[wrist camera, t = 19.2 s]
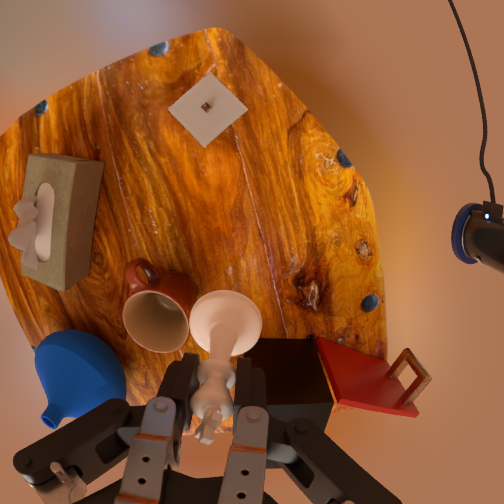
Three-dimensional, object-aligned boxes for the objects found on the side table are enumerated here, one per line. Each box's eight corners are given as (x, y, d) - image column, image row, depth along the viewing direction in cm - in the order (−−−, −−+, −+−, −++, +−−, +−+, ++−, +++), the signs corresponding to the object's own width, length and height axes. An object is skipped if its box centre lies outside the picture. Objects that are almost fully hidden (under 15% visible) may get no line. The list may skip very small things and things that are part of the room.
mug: (213, 304, 42) (203, 341, 32) (165, 323, 43) (146, 360, 33) (176, 233, 39) (152, 252, 29) (128, 257, 40) (96, 281, 30)
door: (337, 307, 42) (370, 363, 28) (404, 336, 44) (444, 385, 30) (315, 341, 44) (337, 403, 30) (383, 365, 46) (415, 417, 31)
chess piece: (276, 312, 19) (294, 431, 9) (238, 362, 20) (229, 478, 10) (211, 275, 18) (172, 380, 8) (178, 330, 19) (132, 439, 9)
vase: (136, 329, 43) (87, 406, 25) (140, 401, 48) (110, 473, 30) (52, 303, 42) (-10, 355, 24) (66, 375, 47) (25, 431, 29)
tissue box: (90, 276, 41) (33, 319, 26) (48, 260, 40) (-11, 293, 25) (105, 160, 36) (37, 159, 21) (59, 152, 35) (-10, 152, 20)
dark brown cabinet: (312, 338, 44) (334, 402, 29) (299, 405, 48) (310, 466, 34) (244, 337, 44) (242, 404, 29) (241, 405, 48) (239, 468, 33)
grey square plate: (204, 147, 36) (201, 146, 34) (167, 109, 34) (163, 106, 33) (248, 109, 35) (248, 106, 33) (210, 72, 33) (208, 67, 31)
